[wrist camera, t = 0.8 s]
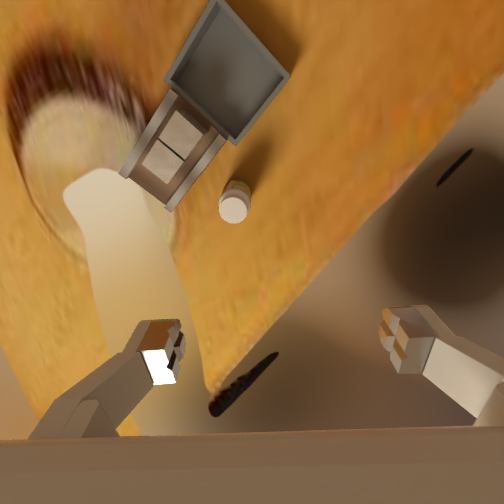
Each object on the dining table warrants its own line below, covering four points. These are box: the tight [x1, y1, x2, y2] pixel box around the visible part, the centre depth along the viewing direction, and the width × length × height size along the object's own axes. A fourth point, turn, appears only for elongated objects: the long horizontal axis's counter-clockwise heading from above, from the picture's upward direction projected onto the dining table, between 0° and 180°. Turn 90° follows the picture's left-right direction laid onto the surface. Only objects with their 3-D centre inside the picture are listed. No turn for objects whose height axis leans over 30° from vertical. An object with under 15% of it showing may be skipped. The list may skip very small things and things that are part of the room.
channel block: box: [119, 88, 228, 212], centre depth 38 cm, size 14×9×5 cm, turn 139°
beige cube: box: [158, 110, 209, 160], centre depth 34 cm, size 4×4×4 cm
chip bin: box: [164, 0, 291, 146], centre depth 34 cm, size 11×12×3 cm
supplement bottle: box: [219, 179, 251, 223], centre depth 40 cm, size 5×5×8 cm
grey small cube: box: [142, 139, 191, 184], centre depth 35 cm, size 4×4×4 cm
